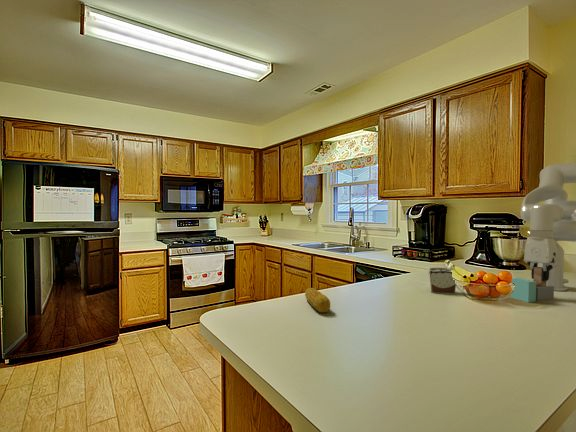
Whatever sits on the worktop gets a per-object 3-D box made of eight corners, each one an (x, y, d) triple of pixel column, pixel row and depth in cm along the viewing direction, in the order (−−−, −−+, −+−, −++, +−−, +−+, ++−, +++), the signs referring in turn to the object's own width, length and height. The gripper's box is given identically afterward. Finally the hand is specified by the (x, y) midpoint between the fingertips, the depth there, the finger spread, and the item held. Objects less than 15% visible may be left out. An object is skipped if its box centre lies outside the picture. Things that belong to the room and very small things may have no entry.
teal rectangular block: (518, 296, 132) (518, 277, 132) (535, 301, 125) (536, 281, 125) (510, 297, 131) (511, 278, 131) (528, 302, 124) (528, 282, 124)
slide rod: (538, 288, 133) (539, 266, 132) (546, 290, 130) (546, 268, 130) (526, 289, 131) (526, 267, 130) (533, 291, 128) (534, 268, 127)
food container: (452, 290, 142) (453, 267, 141) (458, 294, 136) (459, 270, 135) (423, 289, 143) (424, 267, 143) (428, 292, 137) (428, 269, 136)
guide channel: (538, 295, 135) (538, 283, 135) (553, 299, 129) (554, 286, 129) (523, 296, 132) (523, 284, 132) (537, 300, 127) (538, 287, 126)
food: (332, 314, 108) (333, 297, 108) (316, 315, 106) (317, 298, 106) (313, 297, 128) (314, 282, 128) (300, 298, 127) (300, 283, 127)
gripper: (514, 233, 137) (513, 275, 137) (557, 236, 121) (555, 284, 122) (527, 233, 139) (526, 275, 140) (570, 236, 124) (569, 283, 124)
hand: (539, 279), depth 131 cm, fingers closed on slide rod, 3 cm apart
